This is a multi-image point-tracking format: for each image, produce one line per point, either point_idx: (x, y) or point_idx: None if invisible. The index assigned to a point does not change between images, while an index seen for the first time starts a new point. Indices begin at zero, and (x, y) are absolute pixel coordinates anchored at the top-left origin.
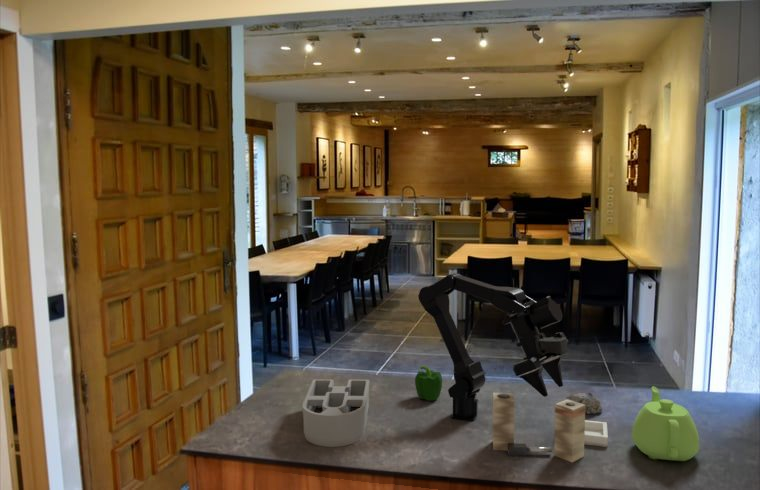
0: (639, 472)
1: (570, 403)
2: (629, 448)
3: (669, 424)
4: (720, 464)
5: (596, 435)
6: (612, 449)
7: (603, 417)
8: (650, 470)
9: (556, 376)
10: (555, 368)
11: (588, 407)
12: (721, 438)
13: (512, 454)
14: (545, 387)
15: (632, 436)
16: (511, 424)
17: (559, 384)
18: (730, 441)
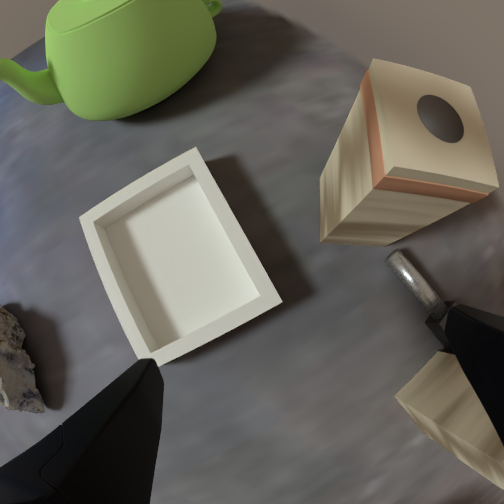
0: (289, 57)
1: (434, 119)
2: (168, 121)
3: None
4: None
5: (207, 179)
6: (207, 145)
7: (19, 286)
8: (260, 48)
9: (131, 444)
10: (86, 500)
11: (11, 333)
12: (30, 68)
13: None
14: (495, 326)
15: (164, 89)
16: None
17: (156, 386)
18: (37, 56)
